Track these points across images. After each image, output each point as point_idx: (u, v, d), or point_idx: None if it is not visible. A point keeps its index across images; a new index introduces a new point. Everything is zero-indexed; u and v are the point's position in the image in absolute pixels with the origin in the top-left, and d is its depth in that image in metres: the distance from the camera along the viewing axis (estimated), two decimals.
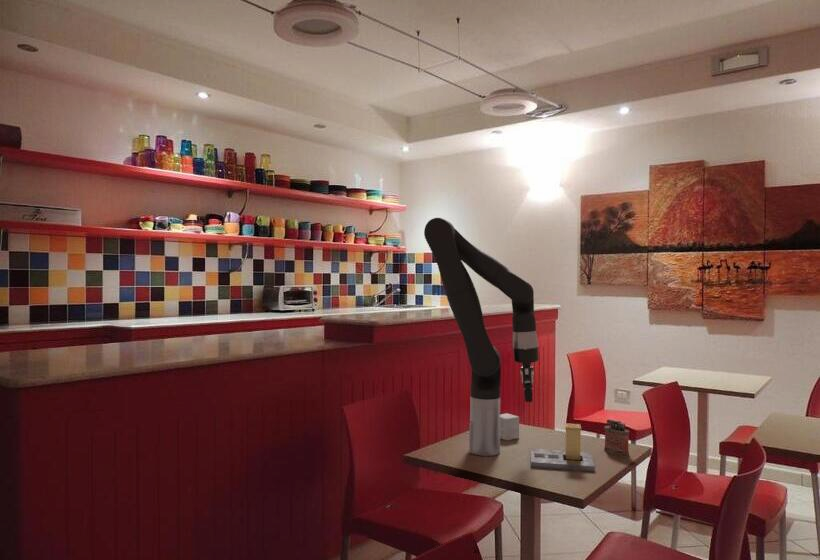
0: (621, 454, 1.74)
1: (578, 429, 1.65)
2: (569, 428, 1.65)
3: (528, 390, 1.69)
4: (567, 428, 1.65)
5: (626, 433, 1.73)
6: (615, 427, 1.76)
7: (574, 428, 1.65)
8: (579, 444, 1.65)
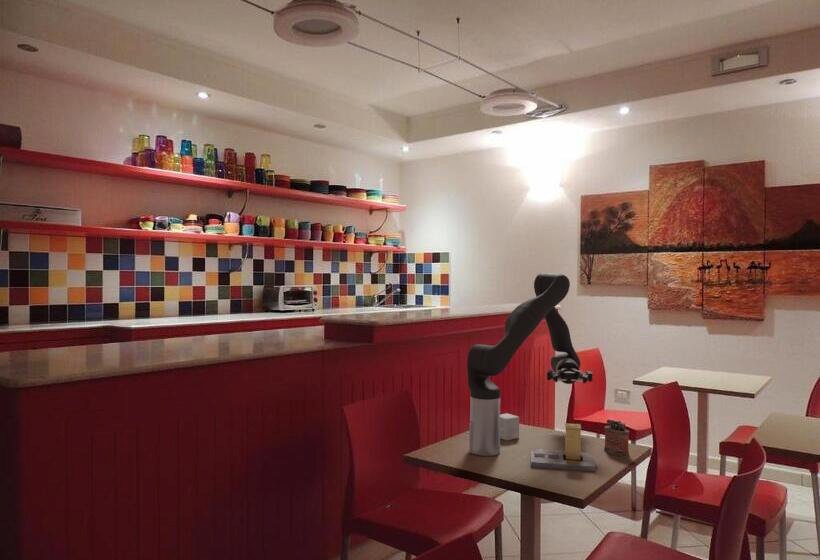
0: (621, 454, 1.74)
1: (578, 429, 1.65)
2: (569, 428, 1.65)
3: None
4: (567, 428, 1.65)
5: (626, 433, 1.73)
6: (615, 427, 1.76)
7: (574, 428, 1.65)
8: (579, 444, 1.65)
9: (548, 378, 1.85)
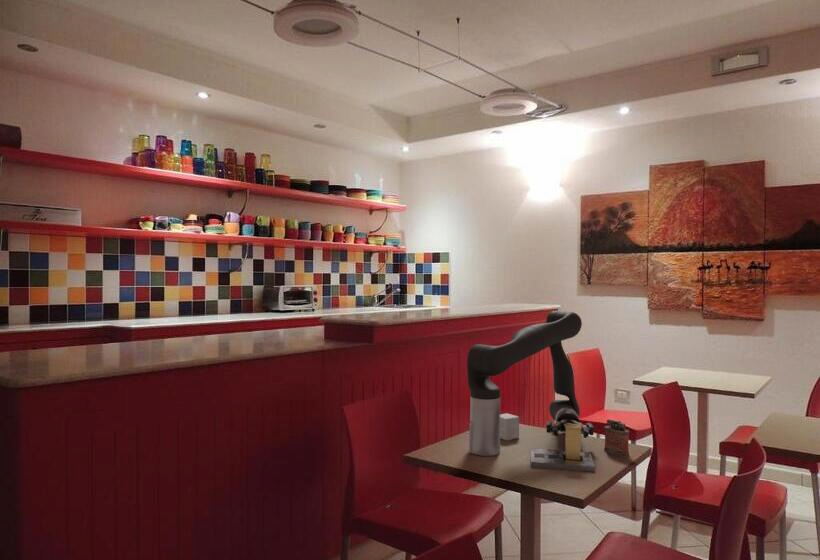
0: (621, 454, 1.74)
1: (578, 429, 1.65)
2: (569, 428, 1.65)
3: None
4: (567, 428, 1.65)
5: (626, 433, 1.73)
6: (615, 427, 1.76)
7: (574, 428, 1.65)
8: (579, 444, 1.65)
9: (548, 431, 1.80)
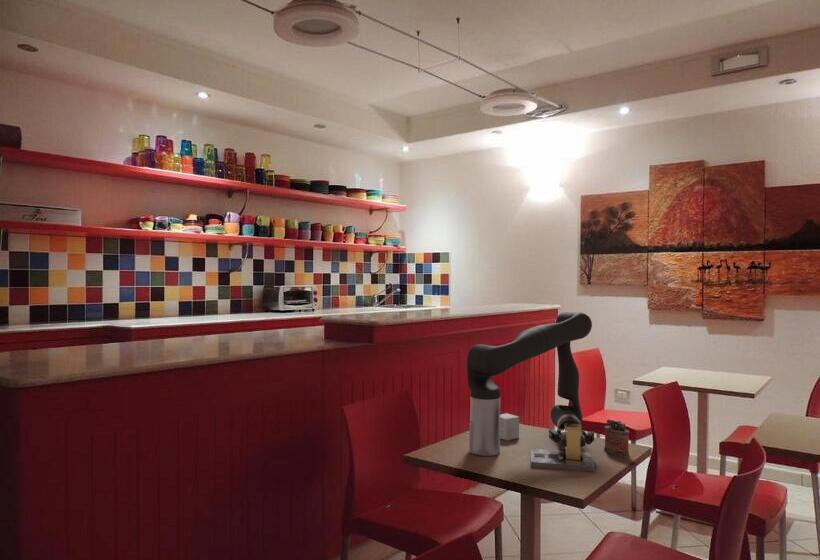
0: (621, 454, 1.74)
1: (578, 429, 1.65)
2: (569, 428, 1.65)
3: (584, 441, 1.67)
4: (567, 428, 1.65)
5: (626, 433, 1.73)
6: (615, 427, 1.76)
7: (574, 428, 1.65)
8: (579, 444, 1.65)
9: (556, 440, 1.70)
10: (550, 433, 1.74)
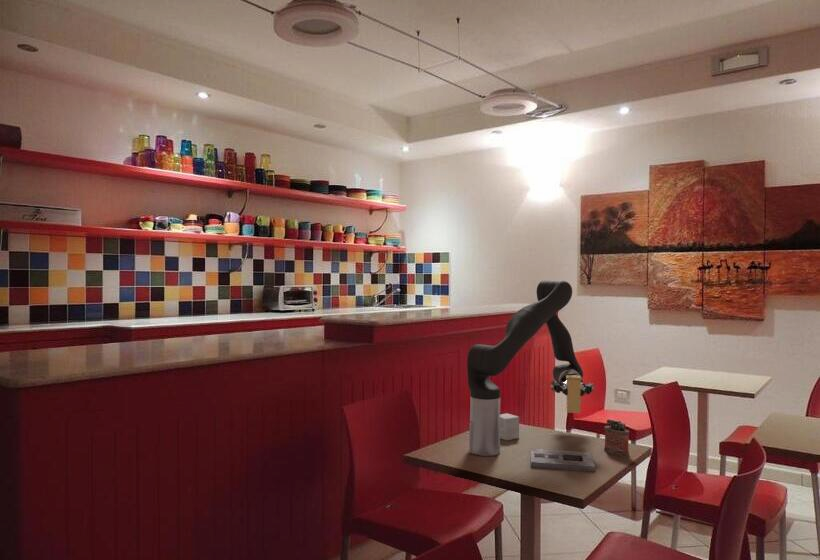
0: (621, 454, 1.74)
1: (578, 379, 1.77)
2: (570, 378, 1.77)
3: None
4: (568, 378, 1.77)
5: (626, 433, 1.73)
6: (615, 427, 1.76)
7: (575, 378, 1.77)
8: (579, 393, 1.77)
9: (557, 391, 1.82)
10: (552, 385, 1.86)
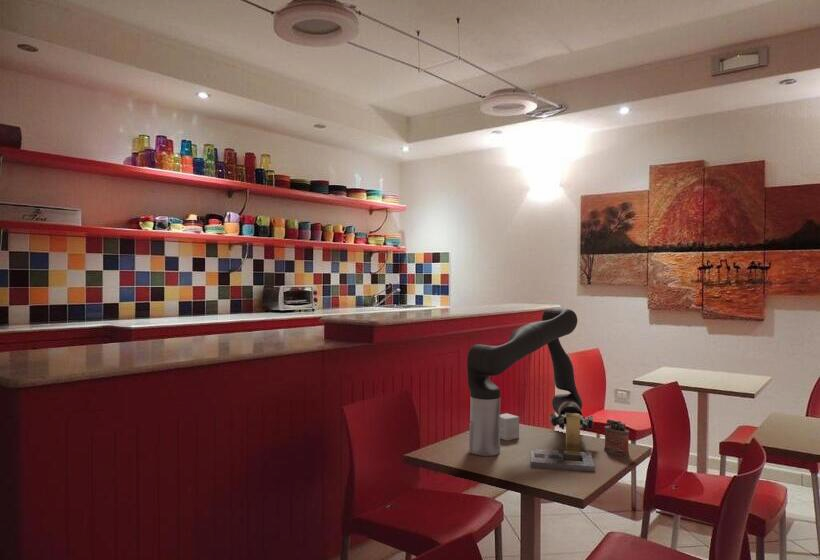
0: (621, 454, 1.74)
1: (578, 418, 1.77)
2: (569, 417, 1.78)
3: None
4: (567, 417, 1.78)
5: (626, 433, 1.73)
6: (615, 427, 1.76)
7: (574, 417, 1.77)
8: (579, 432, 1.77)
9: (554, 424, 1.83)
10: (550, 418, 1.87)
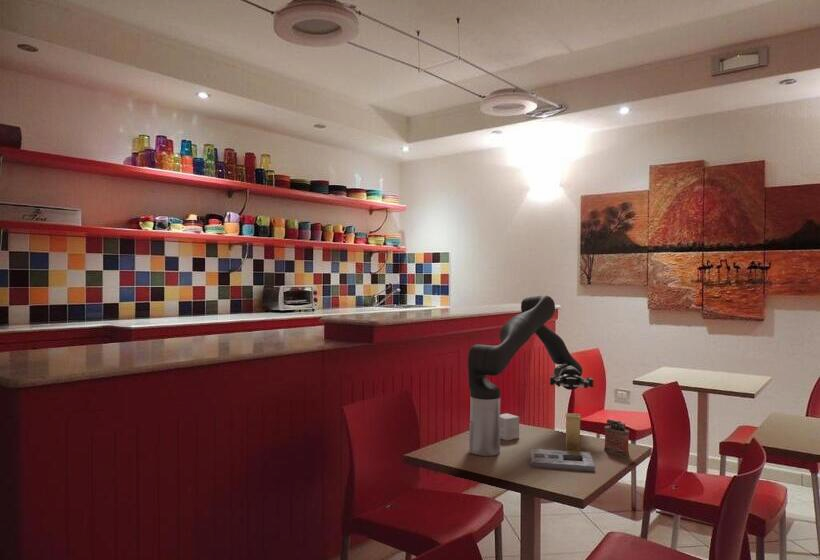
0: (621, 454, 1.74)
1: (578, 418, 1.77)
2: (569, 417, 1.78)
3: None
4: (567, 417, 1.78)
5: (626, 433, 1.73)
6: (615, 427, 1.76)
7: (574, 417, 1.77)
8: (579, 432, 1.77)
9: (551, 383, 1.95)
10: None
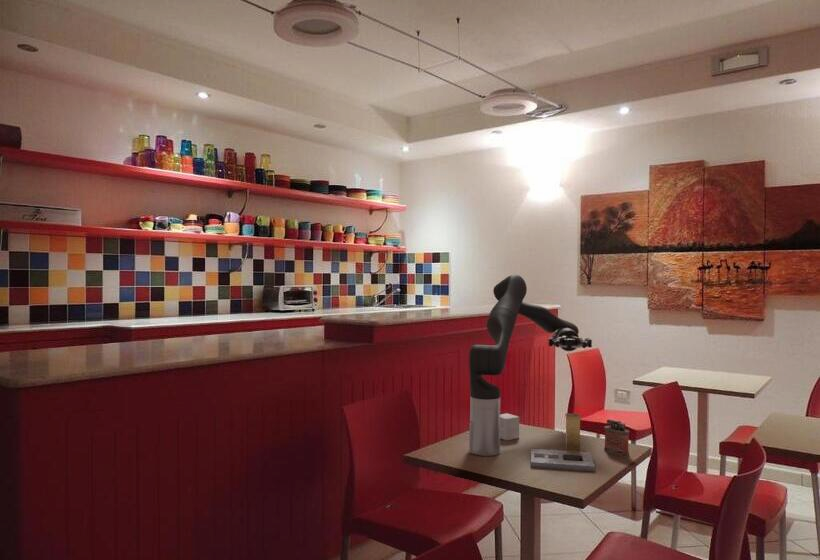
0: (621, 454, 1.74)
1: (578, 418, 1.77)
2: (569, 417, 1.78)
3: (586, 344, 1.93)
4: (567, 417, 1.78)
5: (626, 433, 1.73)
6: (615, 427, 1.76)
7: (574, 417, 1.77)
8: (579, 432, 1.77)
9: (550, 344, 1.96)
10: None
